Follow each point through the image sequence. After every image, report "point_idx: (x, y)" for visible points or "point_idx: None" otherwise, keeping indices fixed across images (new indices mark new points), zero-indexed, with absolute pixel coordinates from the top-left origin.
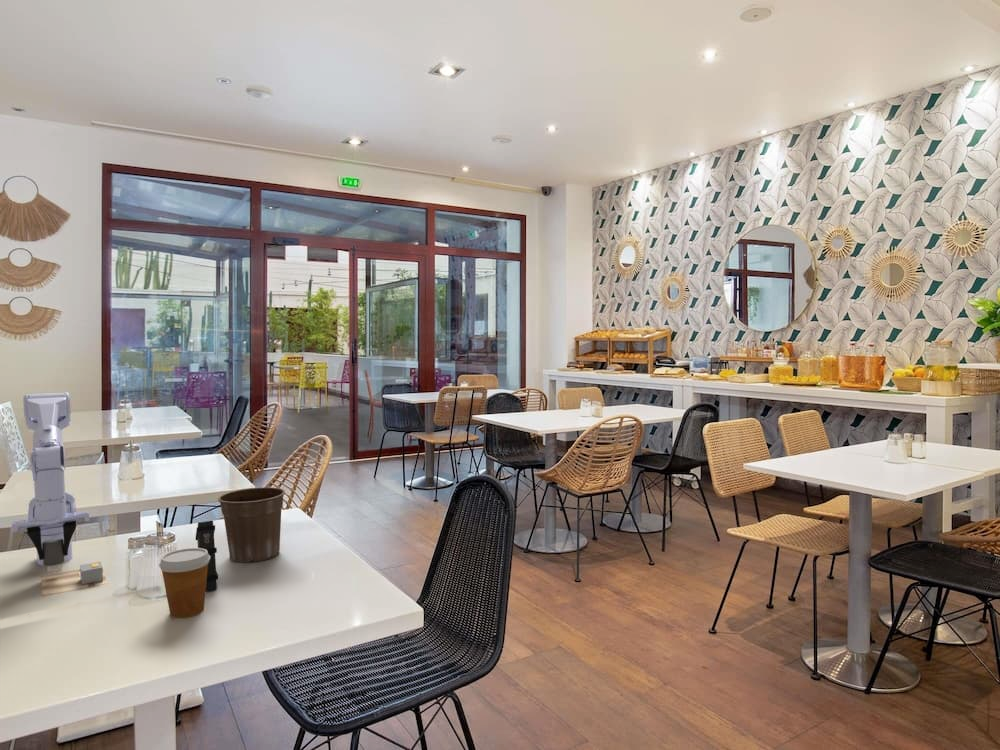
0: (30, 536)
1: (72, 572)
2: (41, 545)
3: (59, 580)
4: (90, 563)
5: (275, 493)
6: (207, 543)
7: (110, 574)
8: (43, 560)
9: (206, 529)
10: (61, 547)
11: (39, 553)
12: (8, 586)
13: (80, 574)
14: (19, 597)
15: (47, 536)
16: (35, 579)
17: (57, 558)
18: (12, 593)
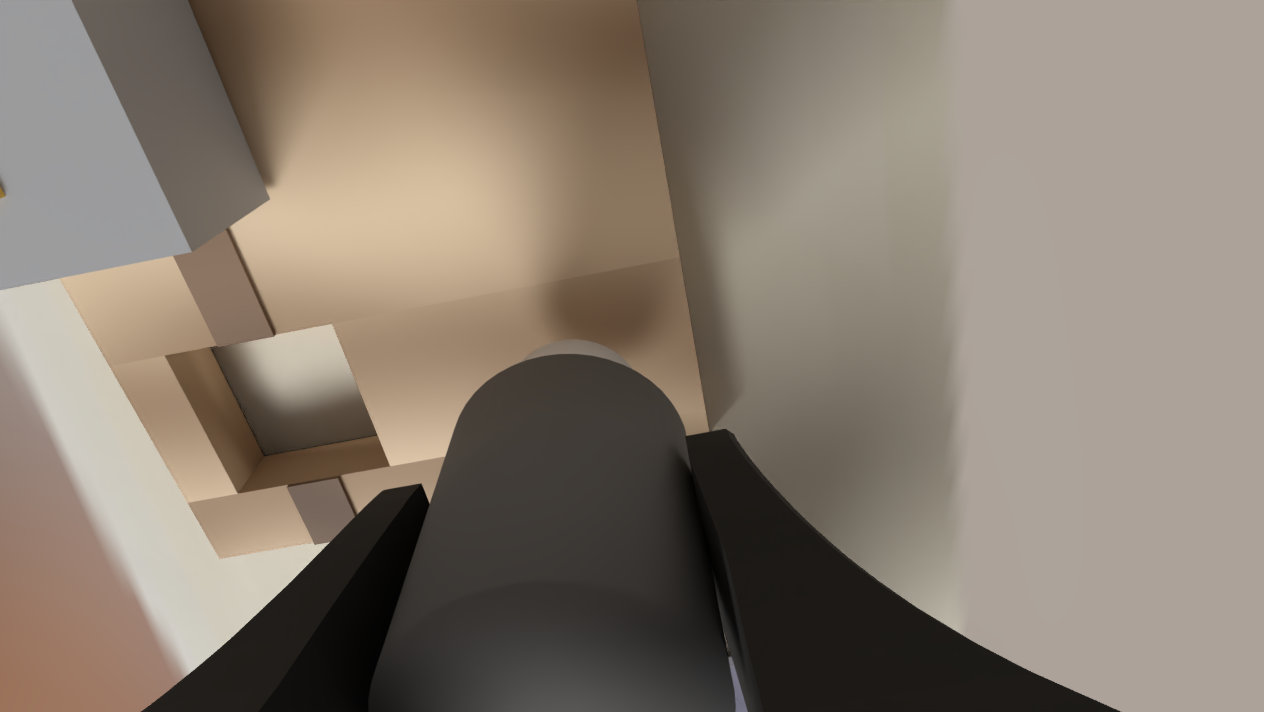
0: (1076, 707)
1: (441, 456)
2: (739, 641)
3: (507, 252)
4: (59, 270)
5: None
6: None
7: (115, 396)
8: (685, 452)
9: None
10: (412, 568)
11: (743, 470)
12: (957, 455)
13: (250, 210)
14: (854, 75)
15: None
16: None
17: (492, 416)
18: (921, 245)
